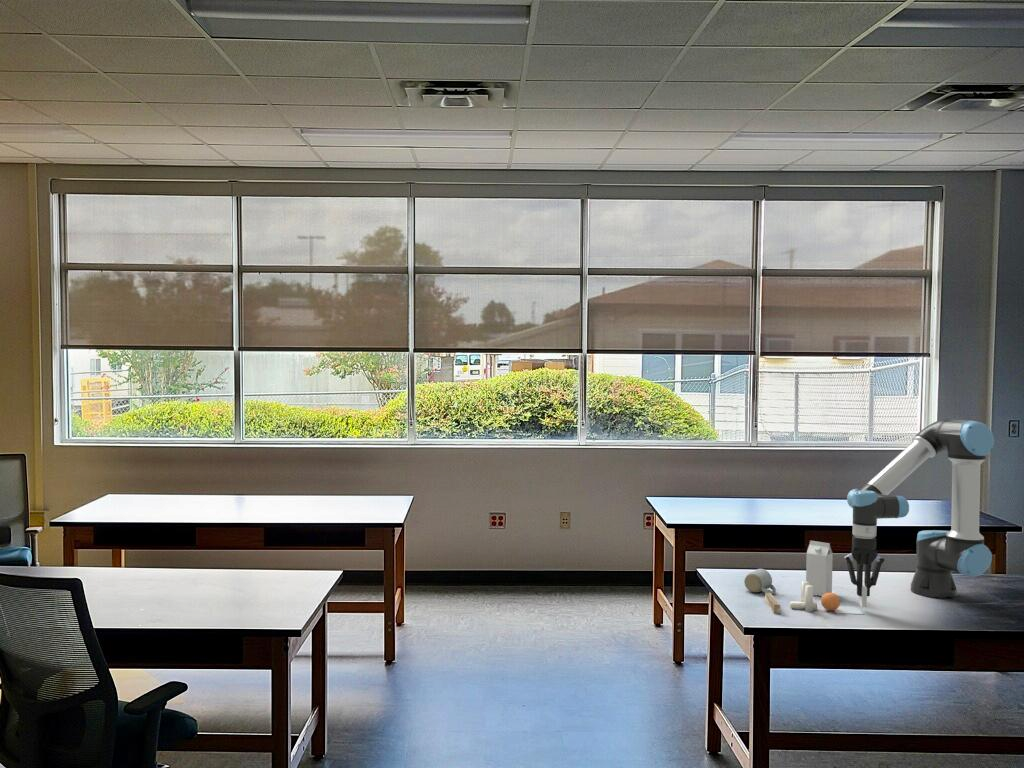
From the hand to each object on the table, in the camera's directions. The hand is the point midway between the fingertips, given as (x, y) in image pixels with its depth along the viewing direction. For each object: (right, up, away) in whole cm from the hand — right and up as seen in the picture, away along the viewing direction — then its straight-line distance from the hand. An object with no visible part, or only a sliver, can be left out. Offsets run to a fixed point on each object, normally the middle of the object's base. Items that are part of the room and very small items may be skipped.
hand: (863, 605), depth 269 cm
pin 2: (-19, -2, -1) cm, 19 cm away
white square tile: (-6, -2, +1) cm, 6 cm away
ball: (-11, +1, 0) cm, 11 cm away
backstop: (-30, -2, +3) cm, 30 cm away
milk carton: (-7, -2, +21) cm, 22 cm away
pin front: (-15, -1, +1) cm, 15 cm away
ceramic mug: (-28, -2, +23) cm, 36 cm away
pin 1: (-18, -2, +4) cm, 19 cm away
